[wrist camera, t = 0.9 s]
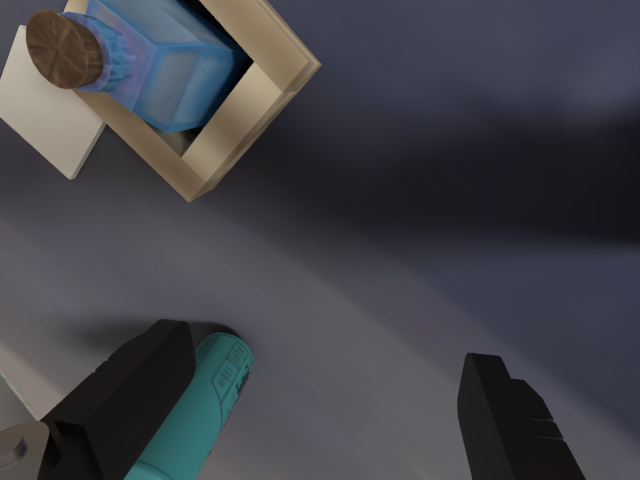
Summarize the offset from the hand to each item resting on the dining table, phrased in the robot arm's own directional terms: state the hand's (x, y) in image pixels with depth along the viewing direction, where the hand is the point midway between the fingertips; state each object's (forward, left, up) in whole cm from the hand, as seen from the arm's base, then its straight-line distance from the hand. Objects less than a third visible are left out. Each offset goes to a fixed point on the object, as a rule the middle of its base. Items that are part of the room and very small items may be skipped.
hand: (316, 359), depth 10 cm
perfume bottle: (+4, -16, -20) cm, 25 cm away
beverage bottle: (+24, +4, -20) cm, 31 cm away
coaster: (+17, -24, -19) cm, 35 cm away
